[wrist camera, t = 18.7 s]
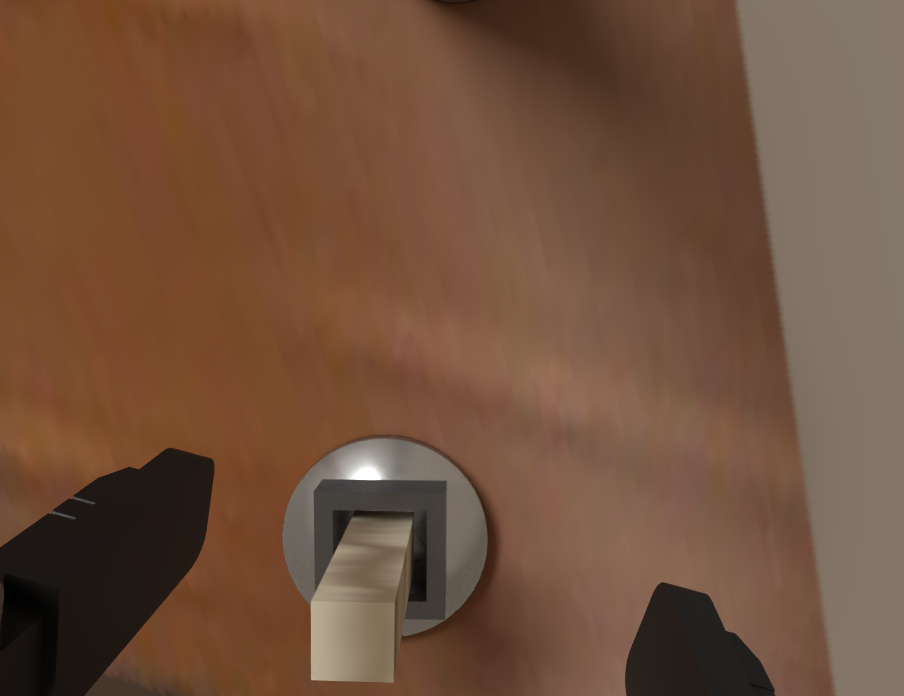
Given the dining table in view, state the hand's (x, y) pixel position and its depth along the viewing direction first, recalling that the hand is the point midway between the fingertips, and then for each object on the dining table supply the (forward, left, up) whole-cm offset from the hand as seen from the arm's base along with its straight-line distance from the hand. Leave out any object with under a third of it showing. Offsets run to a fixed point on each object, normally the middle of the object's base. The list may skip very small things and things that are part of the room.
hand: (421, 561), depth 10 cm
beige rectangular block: (+3, -12, -29) cm, 32 cm away
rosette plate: (+3, -12, -30) cm, 33 cm away
